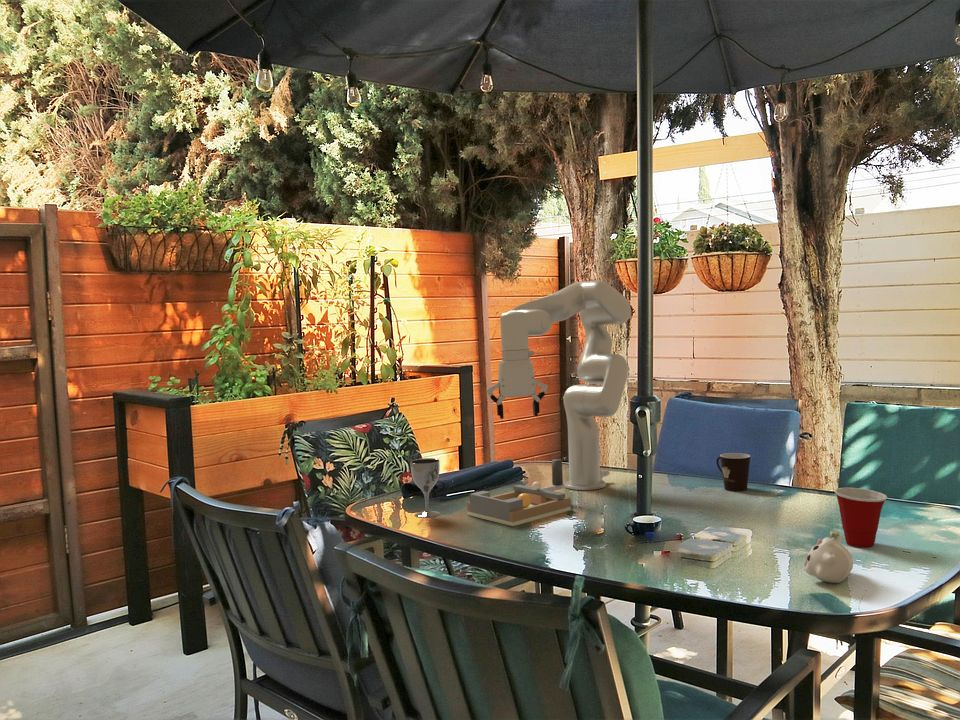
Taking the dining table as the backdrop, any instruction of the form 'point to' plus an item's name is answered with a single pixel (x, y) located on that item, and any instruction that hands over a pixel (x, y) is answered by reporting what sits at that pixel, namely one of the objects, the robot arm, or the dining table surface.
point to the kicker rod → (540, 494)
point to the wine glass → (425, 480)
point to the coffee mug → (734, 471)
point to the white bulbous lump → (829, 560)
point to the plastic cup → (860, 514)
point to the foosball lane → (513, 507)
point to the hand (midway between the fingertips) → (518, 416)
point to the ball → (525, 499)
